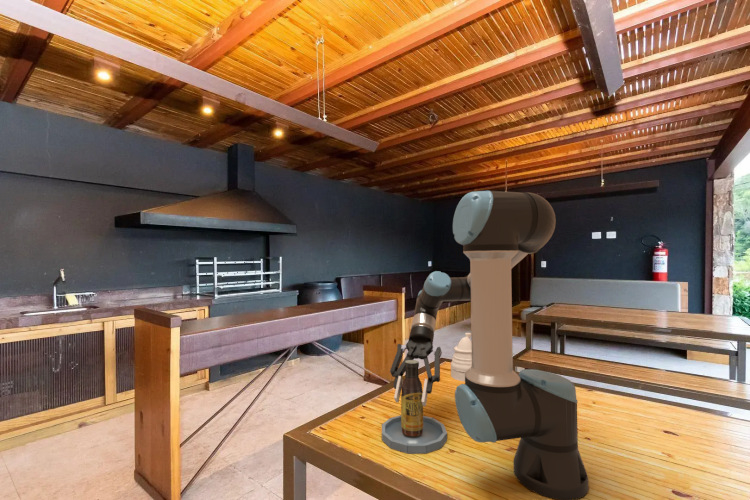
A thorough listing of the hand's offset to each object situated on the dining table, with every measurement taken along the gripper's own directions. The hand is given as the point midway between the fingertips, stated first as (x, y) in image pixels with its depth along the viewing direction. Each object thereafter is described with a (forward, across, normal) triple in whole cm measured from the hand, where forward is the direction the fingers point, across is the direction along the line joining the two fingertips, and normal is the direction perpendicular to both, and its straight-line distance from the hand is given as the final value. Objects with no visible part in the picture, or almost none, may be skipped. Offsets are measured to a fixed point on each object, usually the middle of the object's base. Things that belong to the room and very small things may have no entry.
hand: (409, 401), depth 95 cm
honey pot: (-34, -8, -50) cm, 61 cm away
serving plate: (+5, 0, -10) cm, 11 cm away
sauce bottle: (+5, 0, -10) cm, 11 cm away
